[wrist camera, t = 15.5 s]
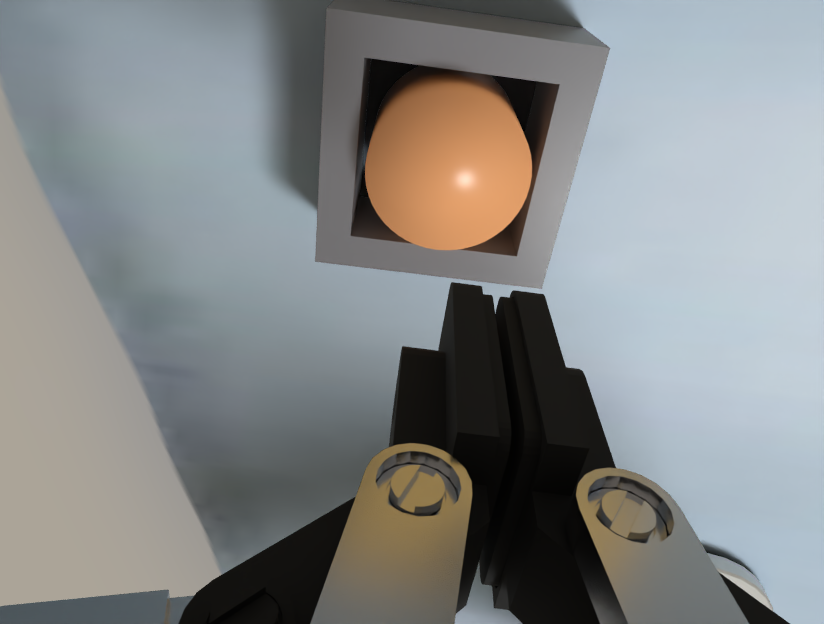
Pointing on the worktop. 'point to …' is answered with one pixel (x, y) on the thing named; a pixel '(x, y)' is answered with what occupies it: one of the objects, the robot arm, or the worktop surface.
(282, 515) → the worktop surface
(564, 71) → the button housing
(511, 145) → the button
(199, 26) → the worktop surface
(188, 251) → the worktop surface
